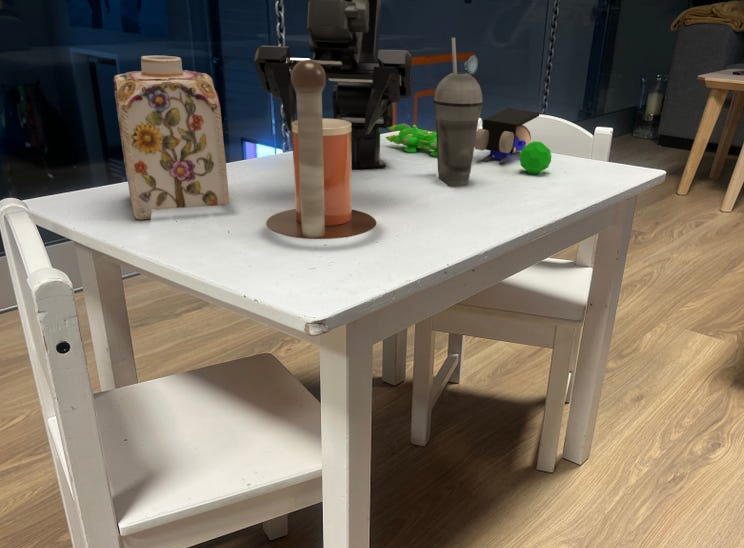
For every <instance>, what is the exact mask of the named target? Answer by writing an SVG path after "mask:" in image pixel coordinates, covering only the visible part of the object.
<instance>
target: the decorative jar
mask: <svg viewBox="0 0 744 548" xmlns="http://www.w3.org/2000/svg"><path fill="white" fill-rule="evenodd" d="M182 61H183V60H182V58H181V57H179V56H171V55H142V56H141V58H140V65H141V70H134V71H133V70H132V71H128V72H125V73H120V74H116V75H114V77H113V85H114V86H113V89H114V90H113V91H114V98H115V105H116V112H117V113H116V114H117V119H118V126H119V133H120V140H121V148H122V155H123V156H122V157H123V162H124V168H125V175H126V179H127V184H128V191H129V198H130V203H131V207H132V213H133V215H134V218H136V220H139V221H141V220H151V219H152V213H153V211H155V210H169V209H181V208H183V209H184V208H196V207H209V206H211V207H212V206H228V205H230V199H229V184H228V183H229V182H228V172H227V171H228V170H227V161H226V151H225V150H226V149H225V142H224V133H223V131H224V130H223V122H222V121H223V120H222V113H221V112H222V111H221V104H220V98H219V94H218V92H217V91H216V89H215V87H216V85H215V84H214V82H213V79H212V77H211V76H210V75H209V74H207V73H204V72H199V71H193V70H187V69H184V70H183V65H182V64H183V62H182Z"/></svg>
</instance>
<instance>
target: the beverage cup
mask: <svg viewBox="0 0 744 548" xmlns="http://www.w3.org/2000/svg"><path fill="white" fill-rule="evenodd" d="M451 57H452V72H451V73H449V74H447V75H446V76H444V77H443V78H442V79H441V80H440V81H439V83H438V84H437V86H436V89H435V91H434V98H433V100H432V103H433V109H434V117H435V126H436V129H435V130H436V132H437V157H436V159H437V173H438V179H439V180H440V181H441V182H442V183H444V184H445V185H446V186H447V187H448V186H449V187H464V186H467V185H469V181H470V180H469V179H470V176H471V171H472V165H473V158H474V152H475V148H474V145H475V139H476V132H477V131H478V124H479V119H480V117H481V114H482V111H483V110H482V108H483V105H484V100H483V92H482V88H481V86H480V84H479V82H478V81H477V79H476V78H475V77H474V76H473V75H471V74H469V73H468V72H461V71H460V72H459V71H458V66H457V48H456V37H451Z"/></svg>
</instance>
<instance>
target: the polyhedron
mask: <svg viewBox="0 0 744 548" xmlns="http://www.w3.org/2000/svg"><path fill="white" fill-rule="evenodd" d="M551 152H552V151H551V149H550V148H549V147H547V145H545V144H544V143H543V142H542V141H537V140H535V141H530V143H529V144H528V145H526V146H525V147H523V148H522V150H521V152H519V157H518V158H519V163H520V164H519V165H520V166H521V167H522V168H523V169H524V170H525V171H526V172H527V173H528V174H530V175H531V174H532V175H538V174H540V173H541V172H543V171H545V170H546V169H548V168H549V166H550V164H551V162H552V153H551Z"/></svg>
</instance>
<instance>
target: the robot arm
mask: <svg viewBox="0 0 744 548" xmlns="http://www.w3.org/2000/svg"><path fill="white" fill-rule="evenodd" d="M307 5H308V6H307V21H306V22H307V23H306V31H307V33H309V40H308V48H309V53H313V56H312V58H307V57H305V58H303V57H293V53H292V51H291V46H286V45H285V46H282V45H281V46H279V45H259V47H258V48H257V49H256V51H255V55H254V60H253V62H254V67H255V70H256V71H257V74H258V77H259V81H260V83H261V86H262V90H263V91H264V92H266V93H268V94H271V95H272V97H273V98H275V99H280V101H281V103H282V108H283V114H284V118H285V122H286V126H287V130H288V132H292V127H291V123H292V122H293V121H296V109H297V97H296V91H295V89H294V88H293V86H292V83H291V73H292V70H293V68H294V66H295V65H296V64H297V63H299V62H300V61H303V60H313V61H315V62H317V63H319V64H320V65H321V66H322V67H323V69H324V71H325V74H326V81H330V82H336V85H333V88H332V110H333V119H339V120H345V121H348V122H350V123H351V124H352V131H351V169H370V168H372V169H373V168H386V167H387V163H385V162H384V161H383V160H382V159H381V129H388V128H390V127H393V126H394V109H393V104H398V103H399V102H401V99H405V100H406V99H408V98H410V97H411V96H412V89H413V62H412V61H413V60H412V59H413V58H412V55H411V54H410V52H409V51H408V50H399V49H379V39H380V37H379V35H380V26H381V25H380V23H381V8H382V0H308V4H307Z"/></svg>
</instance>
